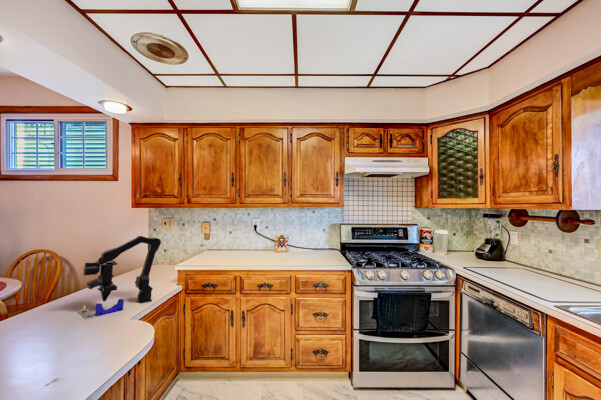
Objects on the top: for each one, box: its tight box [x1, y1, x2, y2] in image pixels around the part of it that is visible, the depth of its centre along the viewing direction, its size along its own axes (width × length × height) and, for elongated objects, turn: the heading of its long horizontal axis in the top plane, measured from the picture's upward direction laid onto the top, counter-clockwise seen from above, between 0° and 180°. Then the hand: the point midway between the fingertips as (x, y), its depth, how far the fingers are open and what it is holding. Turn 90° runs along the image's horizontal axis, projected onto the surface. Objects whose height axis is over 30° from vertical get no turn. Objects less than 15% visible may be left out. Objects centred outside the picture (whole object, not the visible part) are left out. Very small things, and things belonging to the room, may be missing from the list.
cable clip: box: [94, 298, 125, 317], centre depth 143 cm, size 12×4×6 cm, turn 148°
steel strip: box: [76, 305, 96, 320], centre depth 139 cm, size 4×16×4 cm, turn 51°
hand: (104, 301), depth 149 cm, fingers closed
